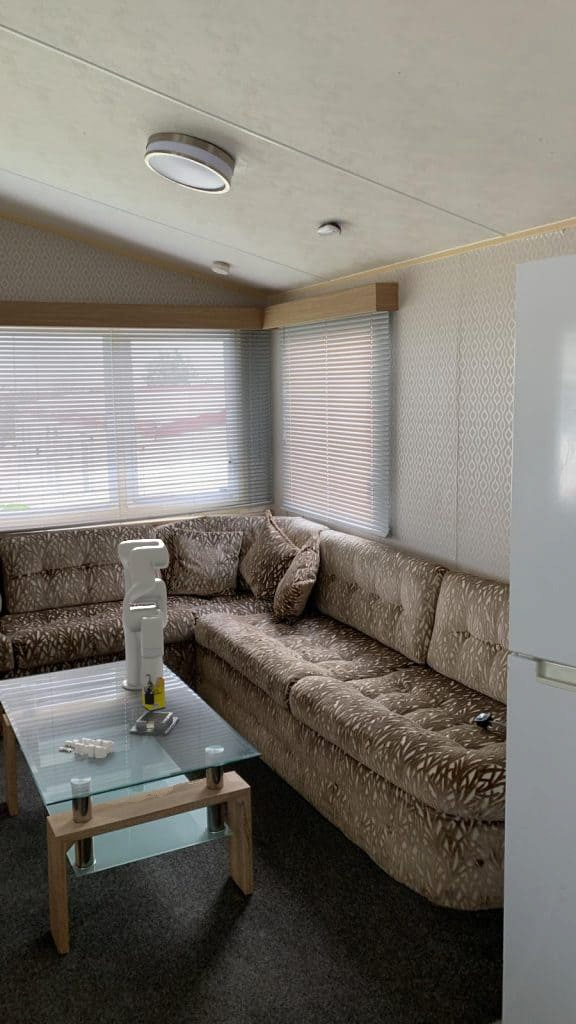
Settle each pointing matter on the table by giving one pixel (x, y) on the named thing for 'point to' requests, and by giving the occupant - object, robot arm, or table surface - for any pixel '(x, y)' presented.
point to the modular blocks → (90, 747)
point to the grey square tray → (154, 723)
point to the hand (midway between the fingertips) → (153, 699)
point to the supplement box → (156, 697)
